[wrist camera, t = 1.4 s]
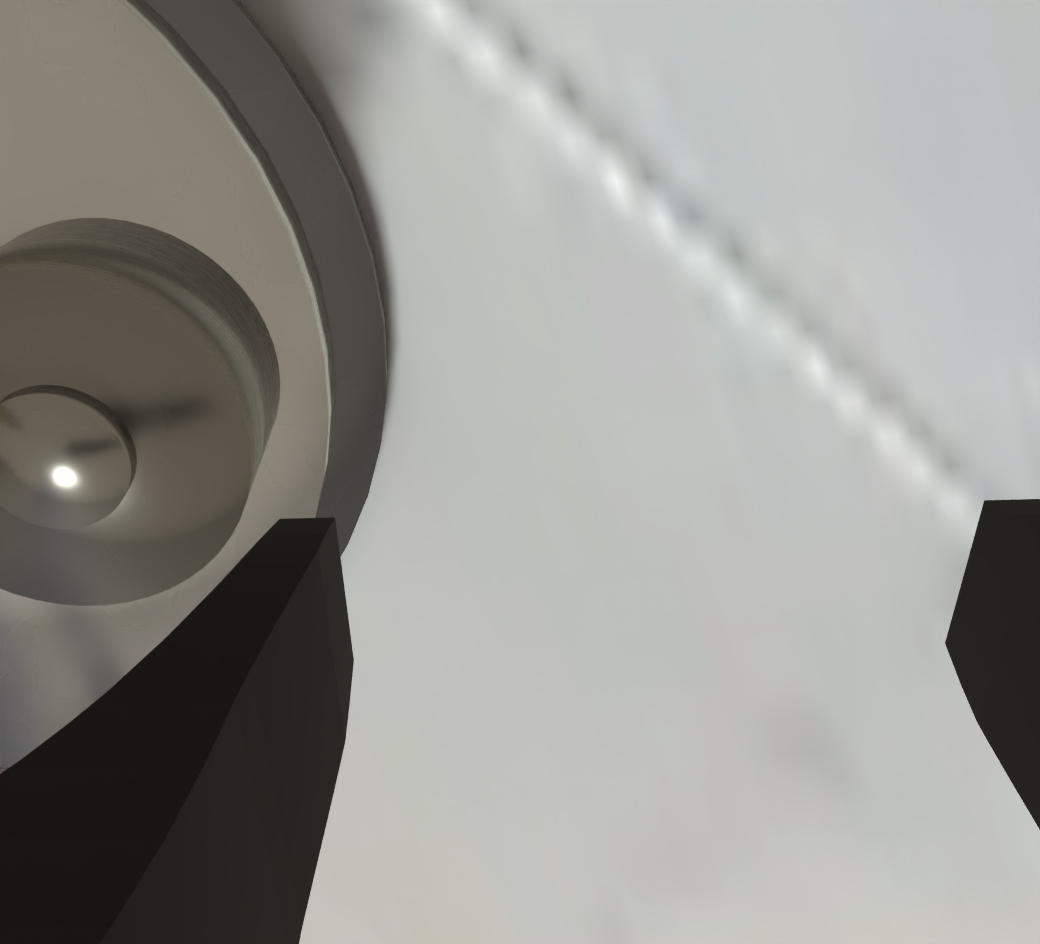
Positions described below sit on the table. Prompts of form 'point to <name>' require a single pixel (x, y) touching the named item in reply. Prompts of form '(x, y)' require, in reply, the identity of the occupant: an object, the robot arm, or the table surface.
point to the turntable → (189, 217)
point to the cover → (123, 410)
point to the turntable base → (309, 232)
